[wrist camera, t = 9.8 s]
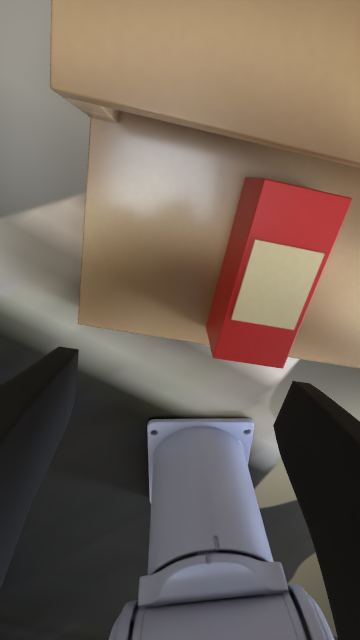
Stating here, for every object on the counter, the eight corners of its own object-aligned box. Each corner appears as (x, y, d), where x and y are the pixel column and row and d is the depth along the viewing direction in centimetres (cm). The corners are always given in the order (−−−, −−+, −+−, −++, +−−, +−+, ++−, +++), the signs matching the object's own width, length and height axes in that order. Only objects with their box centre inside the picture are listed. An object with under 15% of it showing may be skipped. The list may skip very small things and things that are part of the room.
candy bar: (264, 337, 18) (283, 370, 15) (205, 327, 18) (213, 359, 15) (317, 193, 15) (354, 198, 12) (245, 176, 14) (265, 178, 11)
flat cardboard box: (351, 353, 21) (429, 430, 15) (86, 310, 19) (45, 378, 13) (527, 10, 14) (840, -130, 7) (117, -124, 11) (56, -485, 5)
